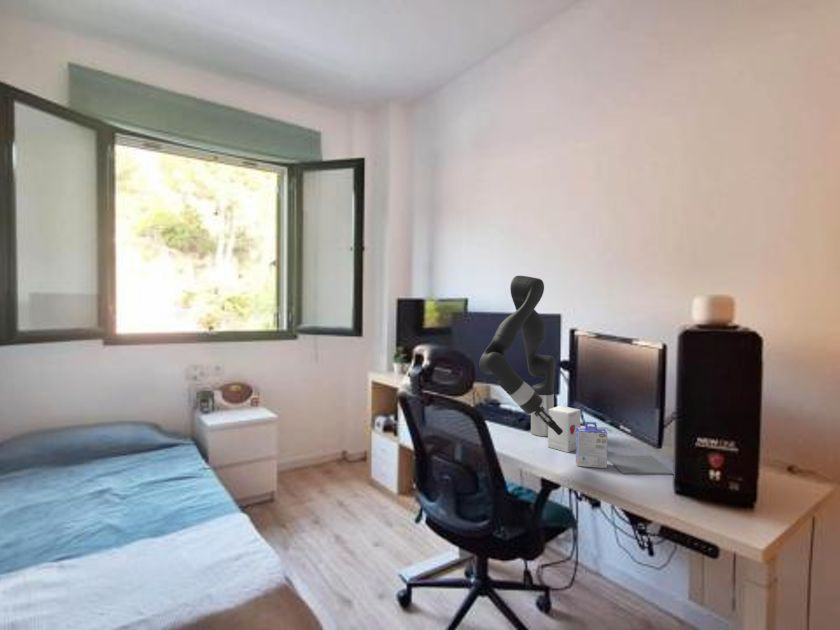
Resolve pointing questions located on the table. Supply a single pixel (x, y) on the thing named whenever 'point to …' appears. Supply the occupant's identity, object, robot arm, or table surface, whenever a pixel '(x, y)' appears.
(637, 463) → the mat
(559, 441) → the supplement box
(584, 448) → the ink cartridge box
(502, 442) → the table surface
